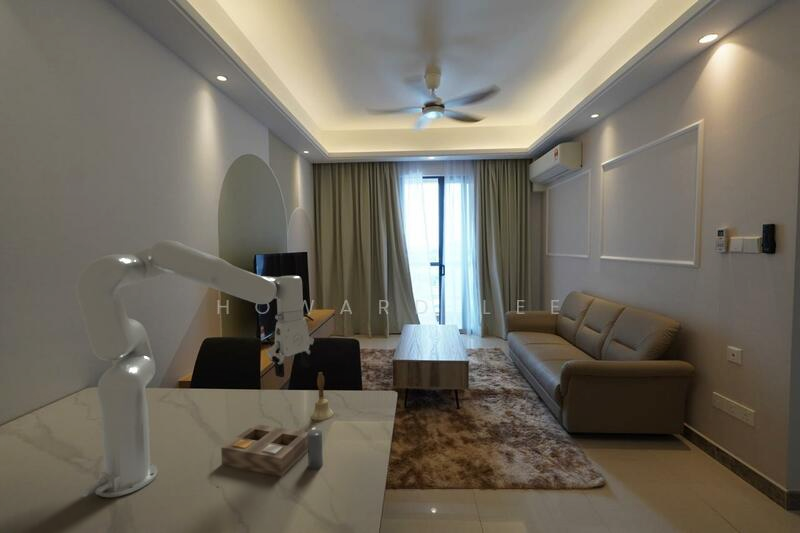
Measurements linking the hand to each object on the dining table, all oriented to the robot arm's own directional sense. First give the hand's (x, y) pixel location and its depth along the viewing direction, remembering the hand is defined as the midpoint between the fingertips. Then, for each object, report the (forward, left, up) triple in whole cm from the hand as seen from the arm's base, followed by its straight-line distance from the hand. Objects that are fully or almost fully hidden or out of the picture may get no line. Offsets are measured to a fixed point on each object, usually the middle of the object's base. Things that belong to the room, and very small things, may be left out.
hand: (292, 371), depth 107 cm
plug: (-7, -11, -24) cm, 27 cm away
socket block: (-7, +5, -24) cm, 25 cm away
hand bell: (+21, +3, -24) cm, 32 cm away
